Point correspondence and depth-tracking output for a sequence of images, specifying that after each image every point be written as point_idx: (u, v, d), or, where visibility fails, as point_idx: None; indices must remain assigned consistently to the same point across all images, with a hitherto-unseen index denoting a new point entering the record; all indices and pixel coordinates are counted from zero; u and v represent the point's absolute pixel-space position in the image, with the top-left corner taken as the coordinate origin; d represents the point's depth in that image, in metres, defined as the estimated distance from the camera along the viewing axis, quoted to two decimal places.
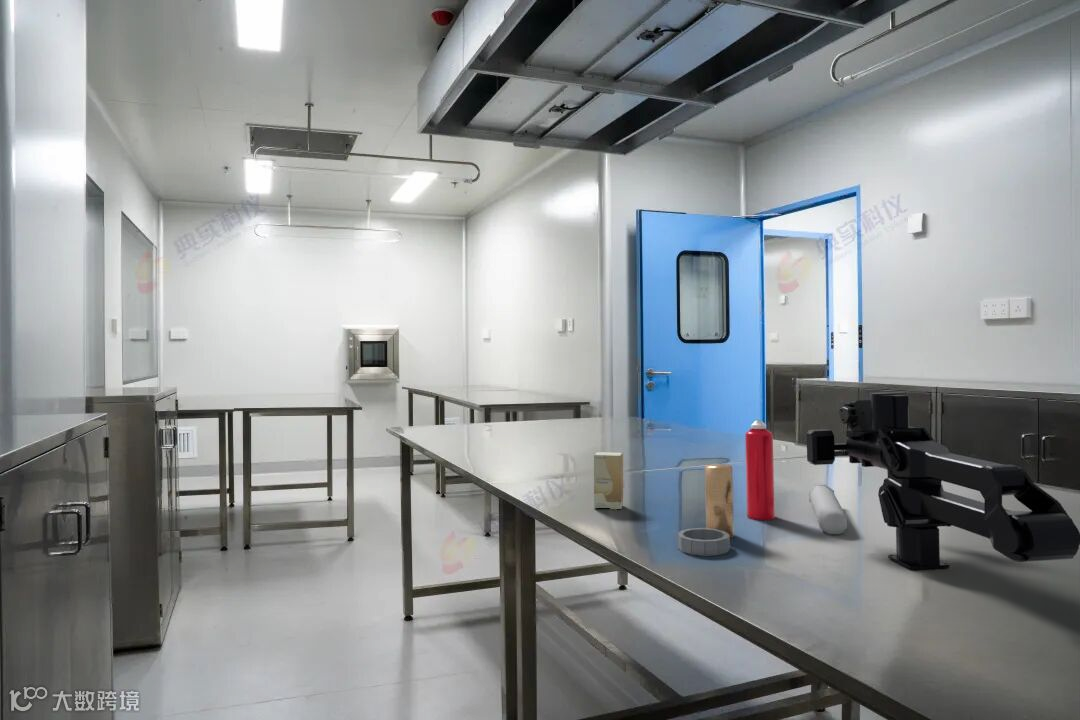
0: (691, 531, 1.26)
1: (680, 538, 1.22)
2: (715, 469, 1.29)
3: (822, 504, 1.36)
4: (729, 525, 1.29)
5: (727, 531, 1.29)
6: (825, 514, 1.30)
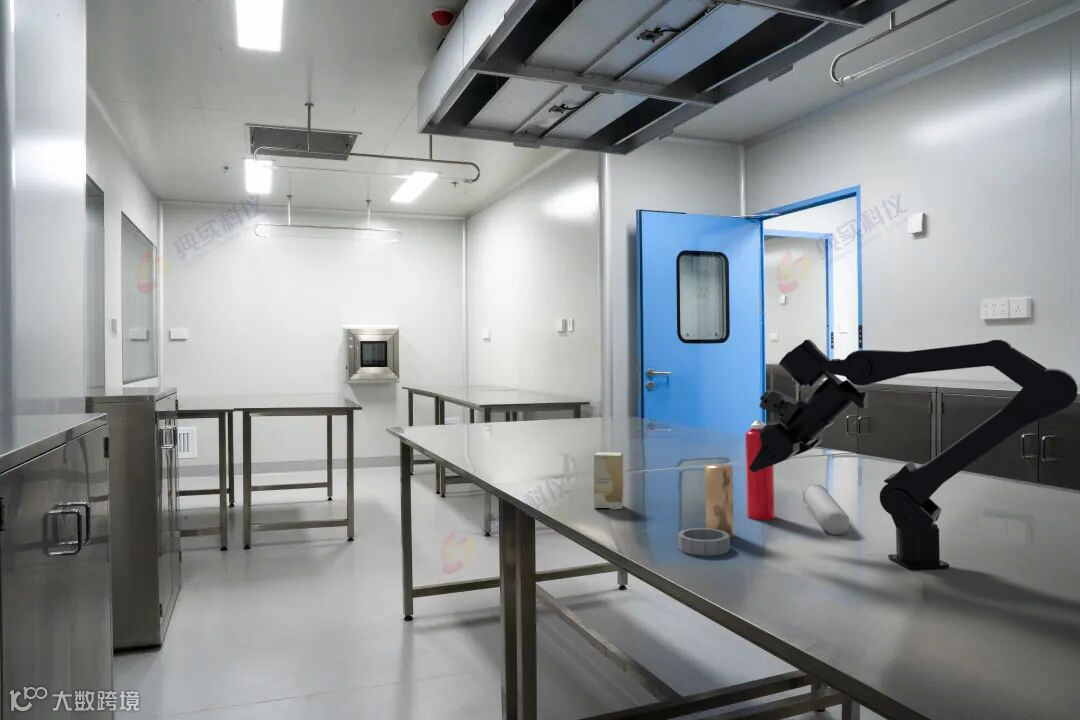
0: (691, 531, 1.26)
1: (680, 538, 1.22)
2: (715, 469, 1.29)
3: (822, 504, 1.36)
4: (729, 525, 1.29)
5: (727, 531, 1.29)
6: (828, 514, 1.30)
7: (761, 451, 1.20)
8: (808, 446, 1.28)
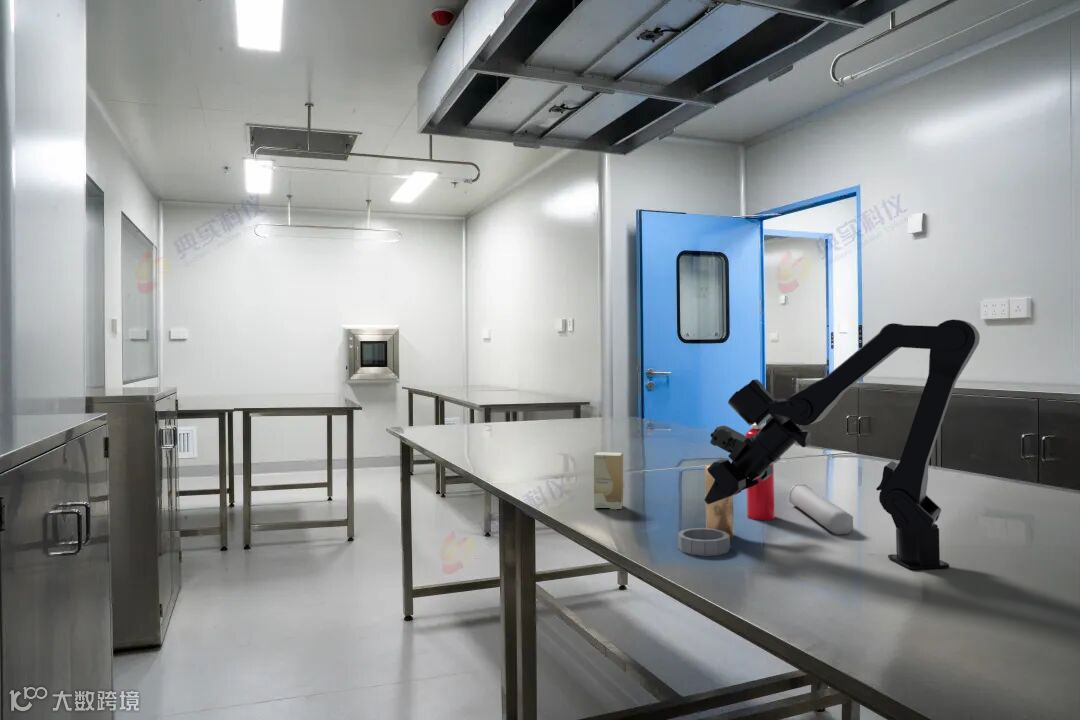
0: (691, 531, 1.26)
1: (680, 538, 1.22)
2: None
3: (822, 504, 1.36)
4: (729, 525, 1.29)
5: (727, 531, 1.29)
6: (833, 514, 1.30)
7: (715, 485, 1.28)
8: (755, 481, 1.32)
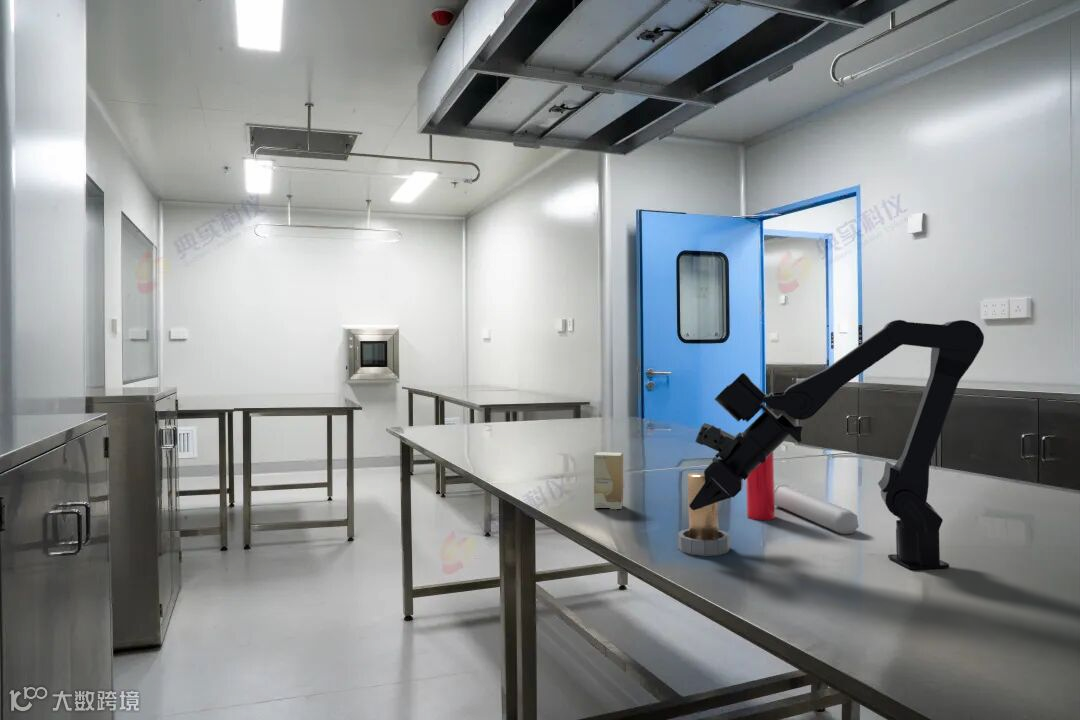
0: None
1: (680, 538, 1.22)
2: (703, 478, 1.21)
3: (821, 504, 1.36)
4: (716, 537, 1.22)
5: None
6: (840, 514, 1.30)
7: (704, 488, 1.17)
8: None
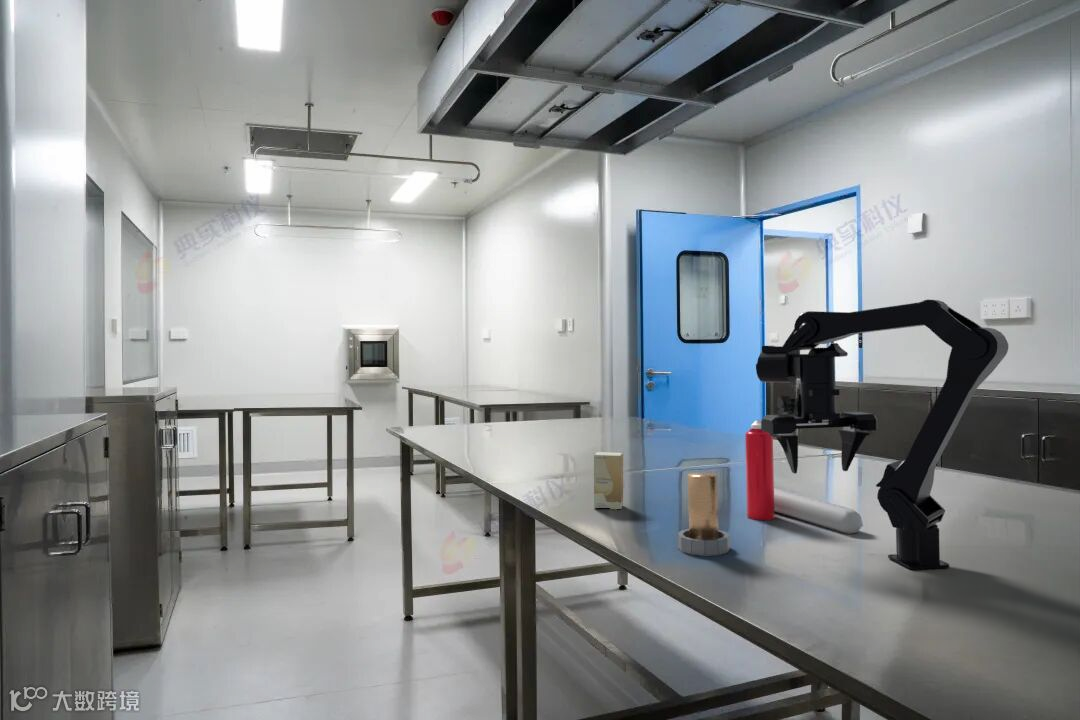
0: None
1: (680, 538, 1.22)
2: (703, 478, 1.21)
3: (821, 505, 1.36)
4: (716, 537, 1.22)
5: None
6: (846, 514, 1.30)
7: (783, 448, 1.23)
8: (863, 432, 1.21)
